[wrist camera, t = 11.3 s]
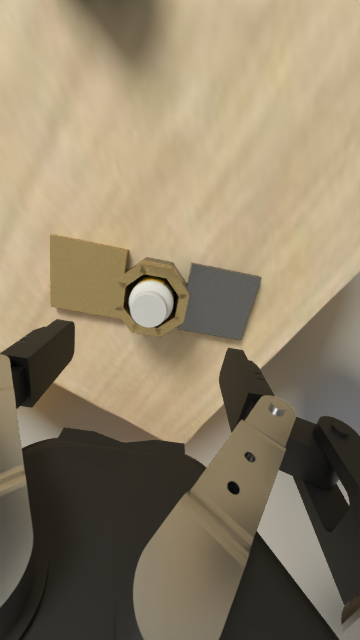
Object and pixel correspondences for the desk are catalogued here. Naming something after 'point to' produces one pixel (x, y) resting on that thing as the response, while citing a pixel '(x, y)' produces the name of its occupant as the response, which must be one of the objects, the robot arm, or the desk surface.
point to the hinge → (116, 284)
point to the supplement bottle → (151, 301)
